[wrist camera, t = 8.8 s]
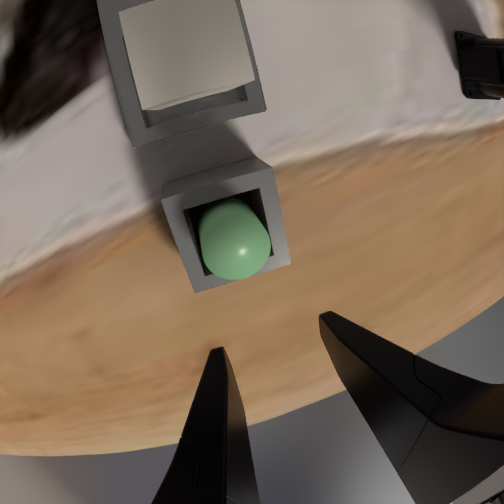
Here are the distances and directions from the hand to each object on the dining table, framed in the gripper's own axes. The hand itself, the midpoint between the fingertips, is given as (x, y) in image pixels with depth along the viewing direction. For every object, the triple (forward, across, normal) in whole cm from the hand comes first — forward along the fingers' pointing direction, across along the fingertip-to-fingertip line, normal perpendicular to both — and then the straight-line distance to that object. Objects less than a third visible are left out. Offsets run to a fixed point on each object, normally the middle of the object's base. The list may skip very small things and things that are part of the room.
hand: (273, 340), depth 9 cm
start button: (+10, 0, 0) cm, 10 cm away
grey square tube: (+12, 0, 0) cm, 12 cm away
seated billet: (+11, 0, -10) cm, 15 cm away
